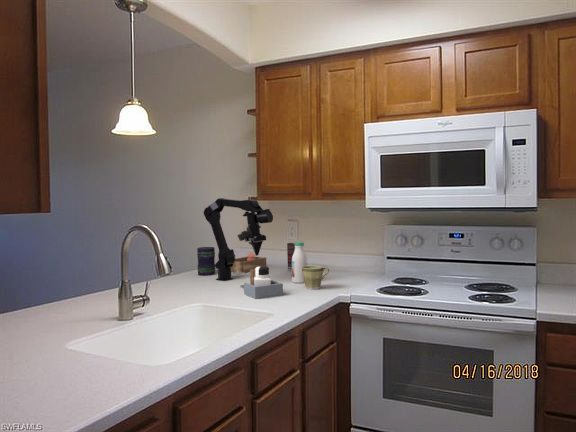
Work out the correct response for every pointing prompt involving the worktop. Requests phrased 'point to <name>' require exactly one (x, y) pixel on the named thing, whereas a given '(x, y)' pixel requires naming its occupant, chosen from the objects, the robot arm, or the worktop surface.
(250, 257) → the pottery
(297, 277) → the milk bottle
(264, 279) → the medicine bottle
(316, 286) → the ceramic cup
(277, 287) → the grey angular block
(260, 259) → the wooden box
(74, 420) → the worktop surface
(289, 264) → the supplement box
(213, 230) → the robot arm
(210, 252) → the storage jar
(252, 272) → the tan wooden stepped block
